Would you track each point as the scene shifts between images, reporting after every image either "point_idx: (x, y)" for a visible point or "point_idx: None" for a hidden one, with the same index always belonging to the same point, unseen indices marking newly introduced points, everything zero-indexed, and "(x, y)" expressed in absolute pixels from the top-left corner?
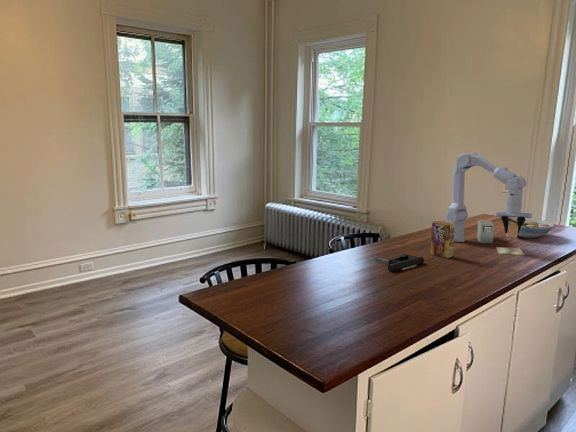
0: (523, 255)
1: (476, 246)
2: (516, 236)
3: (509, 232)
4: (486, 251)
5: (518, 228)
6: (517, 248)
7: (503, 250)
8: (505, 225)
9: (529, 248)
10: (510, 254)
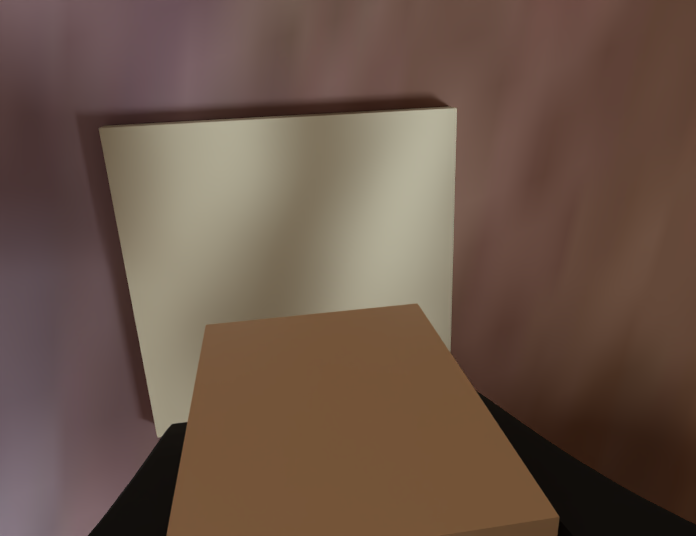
0: (120, 125)
1: (648, 399)
2: (222, 336)
3: (410, 364)
4: (591, 204)
5: (160, 515)
6: None
7: (384, 263)
8: (636, 505)
9: (35, 529)
10: (307, 116)
